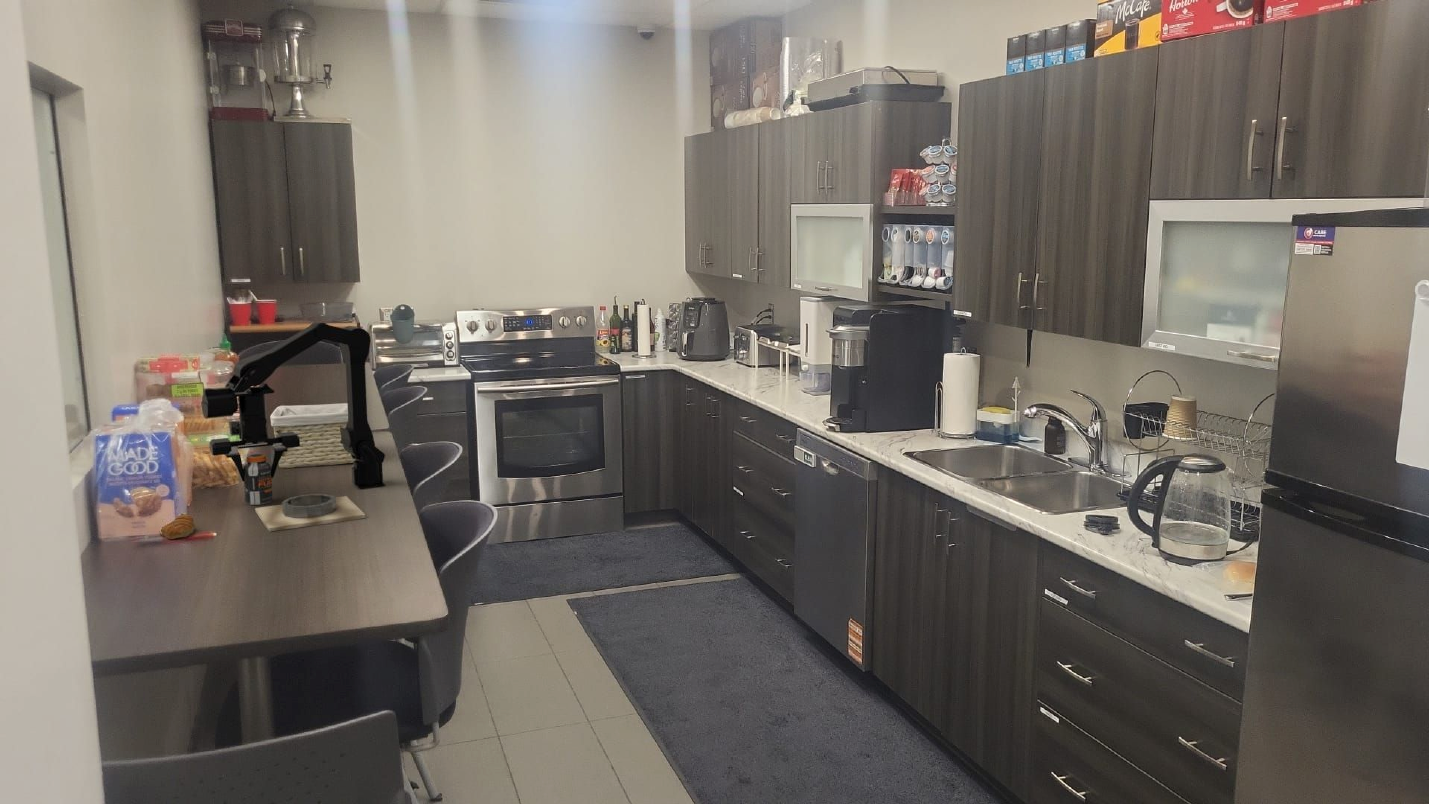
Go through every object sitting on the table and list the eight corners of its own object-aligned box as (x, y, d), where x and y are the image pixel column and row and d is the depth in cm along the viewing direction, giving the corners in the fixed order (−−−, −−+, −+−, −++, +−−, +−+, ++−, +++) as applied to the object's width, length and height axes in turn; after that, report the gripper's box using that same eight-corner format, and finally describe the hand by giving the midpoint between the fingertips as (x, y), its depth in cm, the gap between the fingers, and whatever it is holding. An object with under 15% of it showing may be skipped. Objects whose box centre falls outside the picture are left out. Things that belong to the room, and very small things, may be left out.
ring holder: (346, 499, 247) (345, 485, 246) (365, 517, 232) (364, 503, 231) (255, 511, 236) (254, 497, 235) (269, 531, 221) (268, 516, 220)
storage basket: (272, 470, 275) (268, 415, 272) (279, 456, 290) (276, 404, 288) (367, 464, 281) (364, 411, 279) (369, 452, 297) (366, 401, 294)
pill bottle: (262, 506, 240) (259, 458, 238) (239, 504, 241) (236, 457, 239) (278, 499, 246) (275, 452, 244) (255, 498, 247) (252, 451, 245)
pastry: (198, 537, 217) (197, 520, 217) (162, 543, 214) (160, 525, 213) (193, 526, 225) (191, 509, 224) (158, 531, 221) (156, 514, 221)
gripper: (289, 404, 252) (293, 467, 254) (204, 411, 242) (209, 477, 245) (298, 412, 242) (302, 477, 245) (210, 419, 233) (215, 487, 235)
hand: (257, 479), depth 243 cm, fingers closed on pill bottle, 6 cm apart
